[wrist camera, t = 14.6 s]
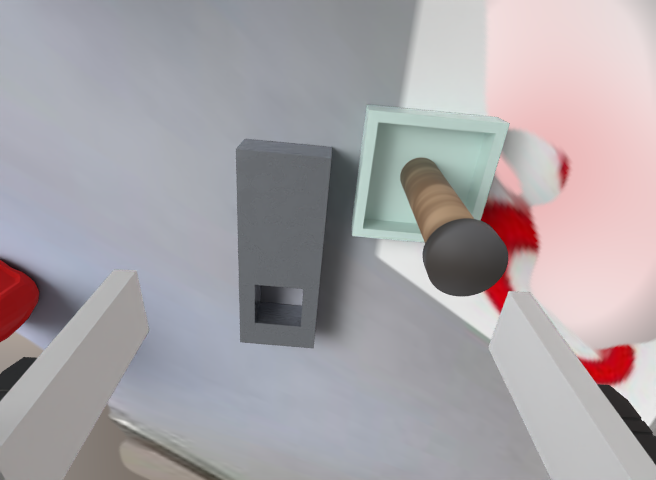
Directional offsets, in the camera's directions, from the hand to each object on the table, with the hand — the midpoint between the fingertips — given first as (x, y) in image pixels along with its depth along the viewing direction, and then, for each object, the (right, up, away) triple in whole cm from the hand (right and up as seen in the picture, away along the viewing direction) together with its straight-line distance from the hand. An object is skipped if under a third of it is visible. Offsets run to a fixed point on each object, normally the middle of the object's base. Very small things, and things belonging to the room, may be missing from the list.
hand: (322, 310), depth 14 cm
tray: (+10, +10, +27) cm, 31 cm away
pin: (+10, +9, +27) cm, 30 cm away
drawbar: (-5, +2, +32) cm, 32 cm away
